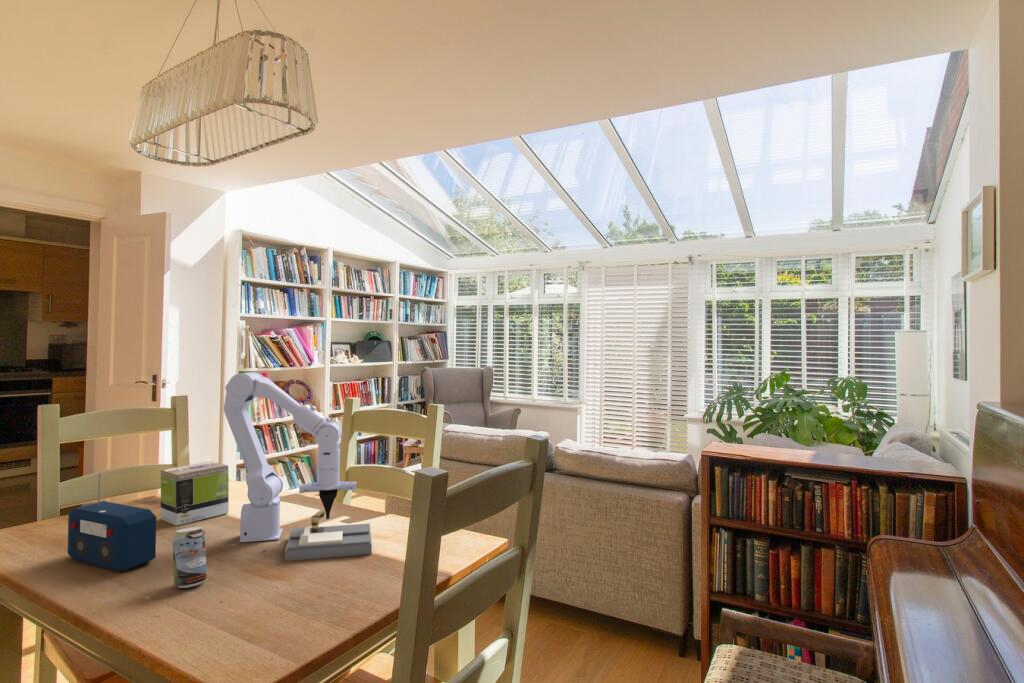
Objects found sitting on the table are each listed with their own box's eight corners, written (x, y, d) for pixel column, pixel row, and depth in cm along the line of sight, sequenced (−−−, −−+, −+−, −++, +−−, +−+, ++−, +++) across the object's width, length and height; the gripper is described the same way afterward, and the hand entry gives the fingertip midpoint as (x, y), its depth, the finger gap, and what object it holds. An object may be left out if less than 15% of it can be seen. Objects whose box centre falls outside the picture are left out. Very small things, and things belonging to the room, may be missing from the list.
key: (317, 531, 145) (317, 517, 145) (309, 531, 145) (310, 517, 145) (326, 523, 152) (326, 510, 152) (319, 523, 152) (319, 509, 152)
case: (284, 561, 133) (284, 548, 133) (291, 538, 148) (291, 526, 148) (371, 554, 138) (371, 541, 138) (369, 532, 154) (369, 521, 154)
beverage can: (183, 594, 114) (184, 536, 114) (164, 585, 118) (165, 529, 118) (213, 583, 120) (214, 527, 120) (194, 575, 124) (195, 521, 124)
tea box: (212, 507, 173) (213, 460, 173) (229, 514, 167) (230, 464, 167) (159, 519, 161) (160, 468, 161) (175, 527, 155) (176, 473, 155)
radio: (60, 560, 130) (62, 475, 130) (100, 548, 138) (102, 467, 138) (121, 576, 123) (122, 485, 123) (159, 562, 131) (160, 476, 131)
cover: (298, 547, 134) (299, 536, 134) (301, 538, 140) (301, 527, 140) (342, 543, 137) (342, 533, 137) (342, 535, 143) (342, 524, 143)
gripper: (298, 472, 145) (297, 524, 145) (356, 469, 149) (355, 520, 149) (301, 466, 151) (300, 516, 151) (356, 463, 156) (355, 512, 155)
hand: (327, 518), depth 151 cm, fingers closed, pressing on key
